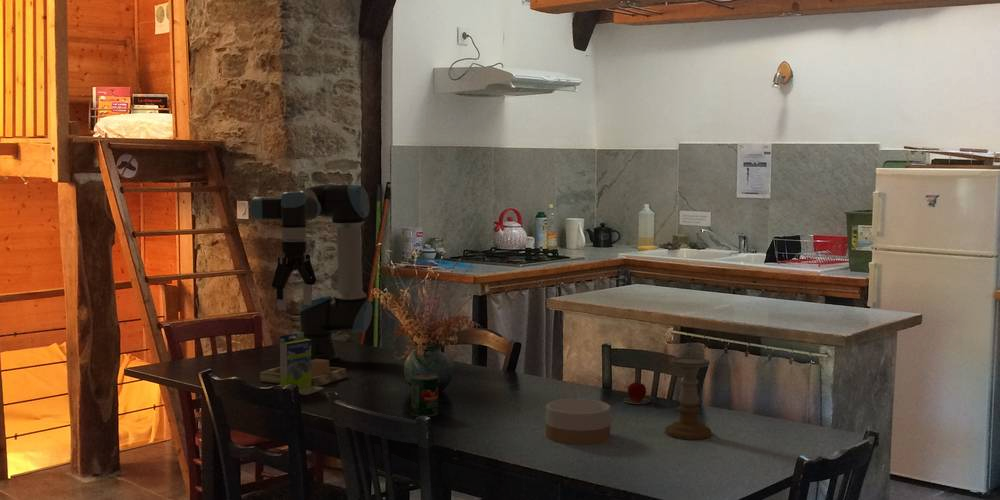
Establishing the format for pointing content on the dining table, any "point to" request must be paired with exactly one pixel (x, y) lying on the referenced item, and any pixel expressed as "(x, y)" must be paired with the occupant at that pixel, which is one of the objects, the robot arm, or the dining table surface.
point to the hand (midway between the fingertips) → (294, 307)
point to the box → (295, 360)
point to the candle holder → (688, 401)
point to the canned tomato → (424, 394)
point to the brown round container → (578, 421)
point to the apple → (636, 393)
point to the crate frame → (333, 375)
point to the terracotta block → (319, 367)
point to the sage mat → (309, 389)
